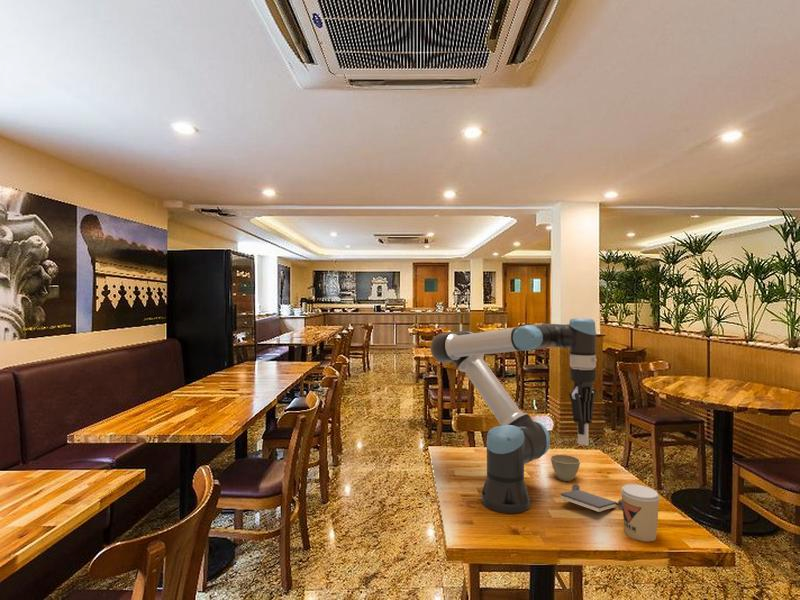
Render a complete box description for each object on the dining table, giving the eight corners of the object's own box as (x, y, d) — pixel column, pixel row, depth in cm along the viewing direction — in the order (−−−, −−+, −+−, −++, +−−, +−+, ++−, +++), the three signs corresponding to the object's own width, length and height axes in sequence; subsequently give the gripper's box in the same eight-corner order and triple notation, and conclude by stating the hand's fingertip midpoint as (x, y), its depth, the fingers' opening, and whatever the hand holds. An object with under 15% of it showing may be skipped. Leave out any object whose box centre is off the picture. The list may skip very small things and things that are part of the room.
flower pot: (584, 484, 154) (584, 463, 154) (556, 484, 154) (556, 463, 154) (573, 473, 164) (573, 454, 164) (547, 473, 164) (547, 454, 164)
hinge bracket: (623, 510, 134) (623, 502, 134) (572, 492, 147) (572, 485, 147) (626, 508, 136) (626, 500, 136) (575, 491, 148) (575, 484, 148)
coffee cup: (614, 526, 125) (614, 484, 125) (645, 524, 125) (645, 483, 126) (634, 543, 116) (634, 498, 116) (667, 542, 116) (667, 497, 116)
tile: (615, 501, 136) (615, 506, 136) (578, 489, 145) (578, 494, 145) (598, 506, 128) (598, 511, 128) (560, 493, 137) (560, 498, 137)
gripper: (584, 371, 128) (585, 451, 128) (604, 367, 137) (604, 442, 136) (560, 368, 134) (561, 445, 133) (581, 364, 142) (581, 437, 142)
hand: (583, 444), depth 135 cm, fingers closed
